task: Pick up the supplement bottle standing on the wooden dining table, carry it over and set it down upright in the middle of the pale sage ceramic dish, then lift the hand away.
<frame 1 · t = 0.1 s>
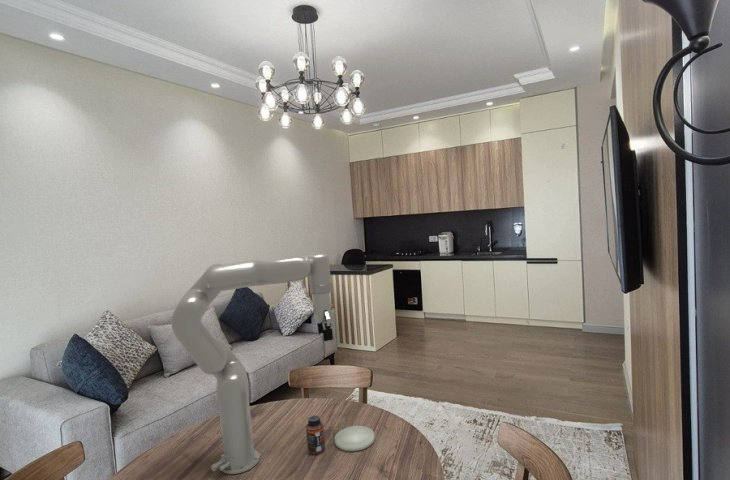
hand: (325, 336, 142), 37 cm above the table, tool pointing down, fingers open, 9 cm apart
supplement bottle: (316, 450, 137), on the table
dish: (354, 440, 141), on the table
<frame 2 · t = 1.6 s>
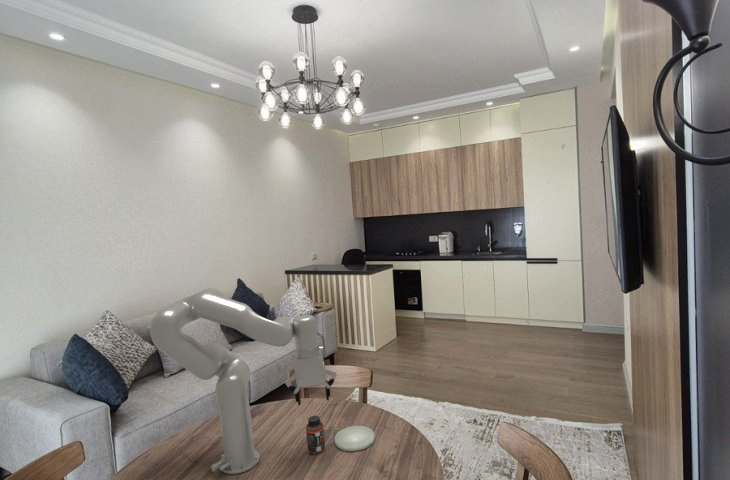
hand: (313, 401, 136), 17 cm above the table, tool pointing down, fingers open, 9 cm apart
nothing on the table moved.
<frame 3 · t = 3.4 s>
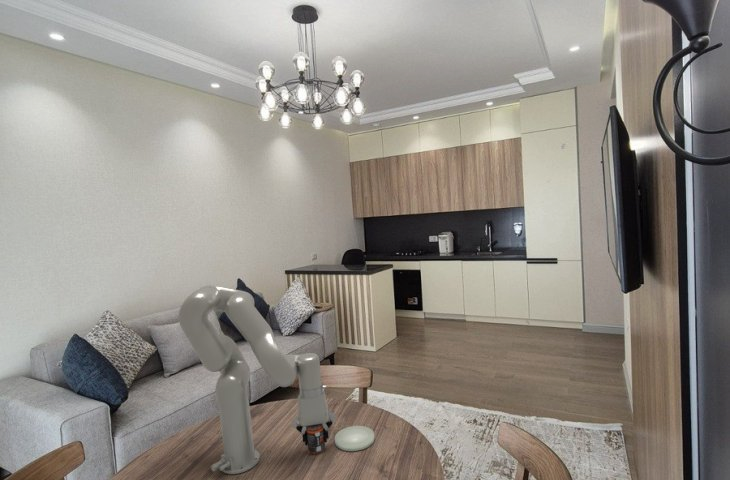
hand: (316, 441, 137), 3 cm above the table, tool pointing down, fingers closed on supplement bottle, 6 cm apart
supplement bottle: (316, 450, 137), on the table, touching gripper
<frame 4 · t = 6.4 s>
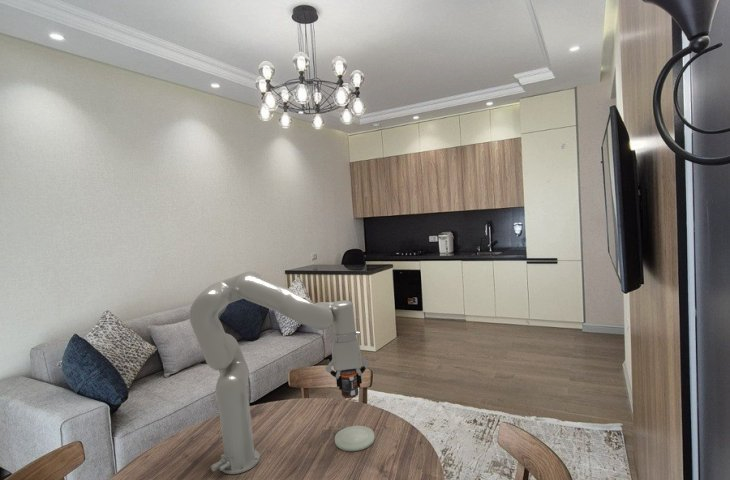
hand: (349, 386, 140), 20 cm above the table, tool pointing down, fingers closed on supplement bottle, 6 cm apart
supplement bottle: (350, 395, 140), point 16 cm above the table, touching gripper
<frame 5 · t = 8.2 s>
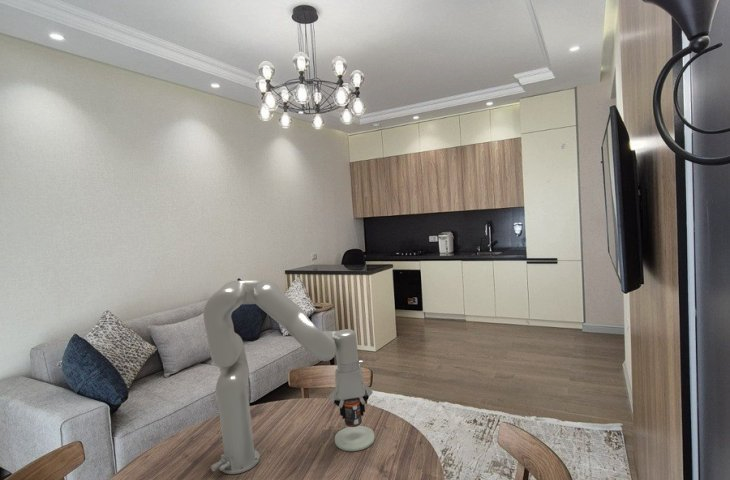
hand: (352, 415, 140), 9 cm above the table, tool pointing down, fingers closed on supplement bottle, 6 cm apart
supplement bottle: (353, 424, 141), point 6 cm above the table, touching gripper
when the fingers open (6 cm above the table, at t = 9.8 s): supplement bottle drops 1 cm, resting on dish.
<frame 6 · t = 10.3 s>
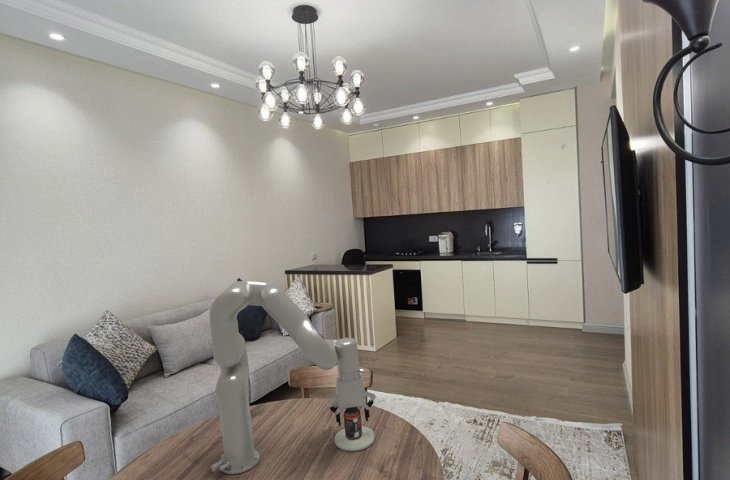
hand: (353, 421, 141), 7 cm above the table, tool pointing down, fingers open, 9 cm apart
supplement bottle: (354, 436, 141), point 1 cm above the table, touching dish
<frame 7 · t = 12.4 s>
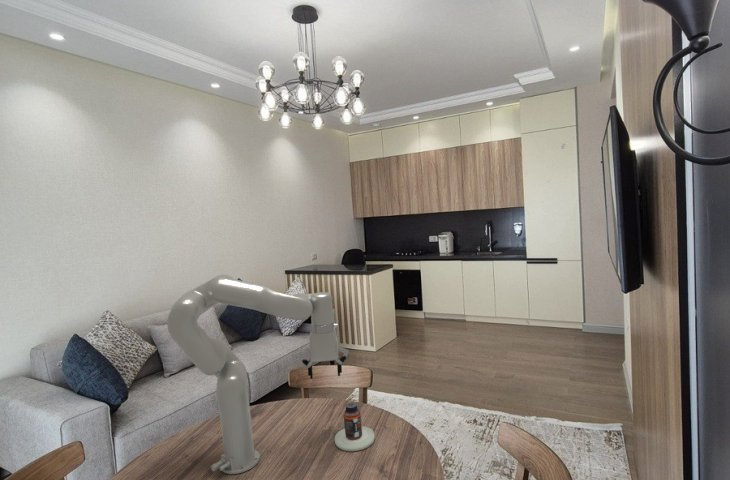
hand: (325, 376, 141), 24 cm above the table, tool pointing down, fingers open, 9 cm apart
nothing on the table moved.
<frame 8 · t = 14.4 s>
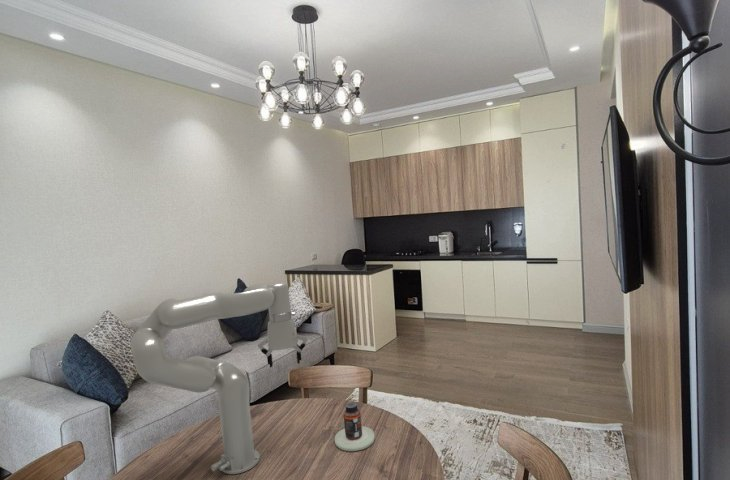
hand: (285, 364, 143), 28 cm above the table, tool pointing down, fingers open, 9 cm apart
nothing on the table moved.
at the end: supplement bottle inside the target area on the dish (0.1 cm from its centre), point 1.4 cm above the dish's base; supplement bottle tilted 0°; the gripper is holding nothing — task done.
